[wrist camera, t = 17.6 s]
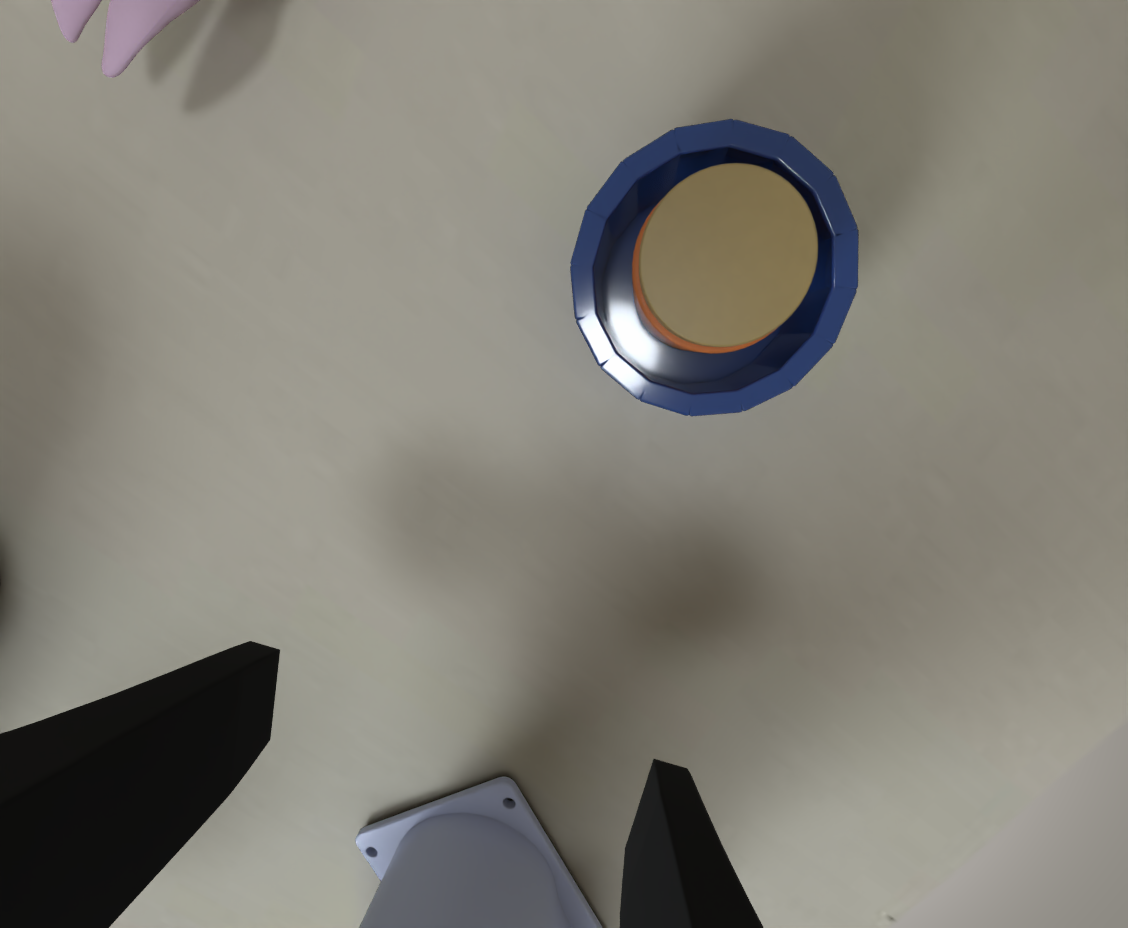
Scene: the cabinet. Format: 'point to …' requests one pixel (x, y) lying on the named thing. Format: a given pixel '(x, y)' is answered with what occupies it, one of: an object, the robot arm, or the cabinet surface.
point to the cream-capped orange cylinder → (723, 259)
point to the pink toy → (120, 25)
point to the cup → (608, 282)
